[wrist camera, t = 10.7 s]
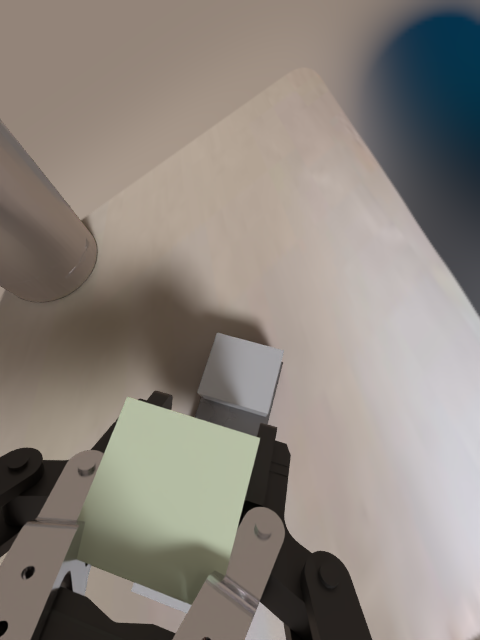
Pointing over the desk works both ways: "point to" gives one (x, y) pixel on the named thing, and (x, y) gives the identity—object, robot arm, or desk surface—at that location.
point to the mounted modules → (232, 397)
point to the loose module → (166, 499)
